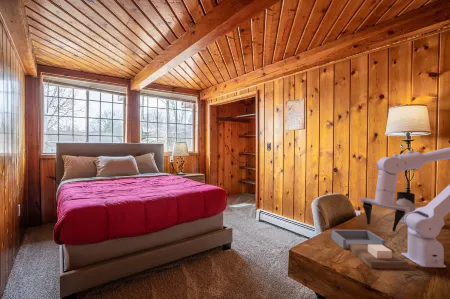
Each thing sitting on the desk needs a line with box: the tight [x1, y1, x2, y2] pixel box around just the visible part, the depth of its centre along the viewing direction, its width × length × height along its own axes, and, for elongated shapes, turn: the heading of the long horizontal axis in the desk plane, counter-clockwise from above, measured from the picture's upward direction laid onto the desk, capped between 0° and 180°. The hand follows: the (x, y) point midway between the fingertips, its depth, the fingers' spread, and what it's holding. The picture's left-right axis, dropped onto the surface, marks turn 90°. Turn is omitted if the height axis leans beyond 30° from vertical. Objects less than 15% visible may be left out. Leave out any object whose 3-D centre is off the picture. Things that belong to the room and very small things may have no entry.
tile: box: [368, 245, 393, 258], centre depth 80 cm, size 5×5×2 cm
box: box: [330, 229, 386, 250], centre depth 94 cm, size 11×16×4 cm
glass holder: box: [396, 191, 416, 224], centre depth 125 cm, size 9×14×15 cm, turn 132°
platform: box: [348, 244, 409, 269], centre depth 82 cm, size 14×12×2 cm
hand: (380, 227), depth 83 cm, fingers open, 7 cm apart
